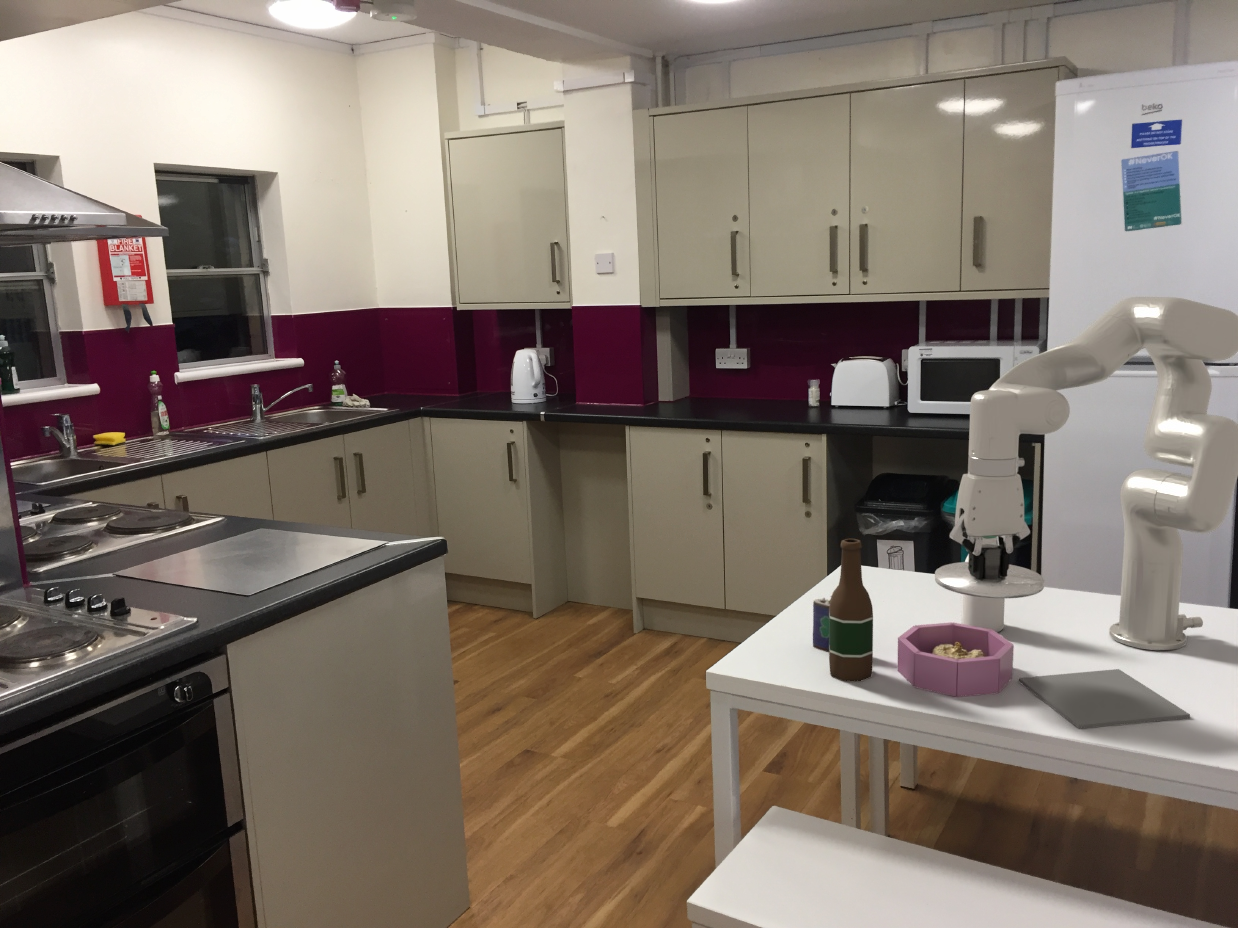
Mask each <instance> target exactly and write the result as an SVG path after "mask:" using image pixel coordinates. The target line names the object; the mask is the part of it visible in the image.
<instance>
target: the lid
mask: <svg viewBox="0 0 1238 928" xmlns="http://www.w3.org/2000/svg"><path fill="white" fill-rule="evenodd" d="M1001 550H1002V547H1000V546H998V544H997V545H993V544H982V547H981V555H982V556H983V557H984V561H983V578H982V579H977V578H976V577H974V576H972V575H971V574H970V572H969V569H968V562H965V561H962V562H953V563H949V564H944V565H942V566H940V567H939V568H936V570H935V571H934V581H935V583H936V584H937V585H938V586H939V587H941V588H943V589H945V590H947V591H949V592H953V593H956V594H961V595H962V594H964V595H970V596H976V597H984V598H1005V599H1018V598H1026V597H1031V596H1034V595H1037V594H1039V593H1041V592H1042V591H1043V590H1044V589H1045V579H1044V577H1043V575H1041V574H1039V573H1038V572H1036V571H1034V570H1032V569H1029V568H1026V567H1023V566H1019V565H1013V564H1009V569H1008V570H1007V577H1002V576H1000V573H1001Z"/></svg>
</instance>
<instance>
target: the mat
mask: <svg viewBox="0 0 1238 928" xmlns="http://www.w3.org/2000/svg"><path fill="white" fill-rule="evenodd" d="M1017 679H1018V681H1017V682H1019V683H1020V685H1022V686H1024V687H1025V688H1026V689H1027V690H1028V691H1030V692H1031V693H1033V695H1035V696H1036V697H1038V698H1039V699H1040V700H1041V701H1043V702H1044V703H1045V704H1046V705H1048V706H1049V707H1050V708H1052V709H1053V710H1054V711H1056V712H1057V713H1058V714H1060V715H1061V716H1062V717H1063V718H1065V720H1067V721H1068V722H1069V723H1071V724H1072V725H1073V726H1074V727H1076V728H1077V729H1078V730H1079V729H1091V728H1099V727H1100V728H1101V727H1110V726H1111V727H1112V726H1119V725H1121V726H1122V725H1131V724H1141V723H1153V722H1163V721H1173V720H1181V719H1182V720H1184V719H1190V717H1191V713H1189V712H1187V711H1186V710H1184V709H1182V708H1181V707H1179V706H1178V705H1176V704H1174V703H1173V702H1171V701H1169V699H1167V698H1165V697H1163V696H1162V695H1160V694H1159V693H1157V692H1155V691H1154V690H1153V689H1151V688H1150V687H1148V686H1147V685H1144V684H1143V683H1141V682H1140V681H1139V680H1137V679H1135V678H1133V677H1132V676H1130V675H1129V674H1128V673H1126V672H1124V671H1123V670H1121V669H1120V668H1115V669H1103V670H1093V671H1082V672H1070V673H1061V674H1059V673H1058V674H1048V675H1036V676H1028V677H1027V676H1026V677H1024V676H1023V677H1018V678H1017Z"/></svg>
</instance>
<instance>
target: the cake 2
mask: <svg viewBox="0 0 1238 928" xmlns="http://www.w3.org/2000/svg"><path fill="white" fill-rule="evenodd" d="M956 643H959V642H956ZM956 643H955V646H953V645H951V644H944V645H939V646H936V647H935V648H934V650H933V653H932V654H934V655H939V656H944V657H949V658H954V659H966V658H977V657H985V654H983V652H982V650H976V649H975V650H973V651H971V652H967V651H966V650H963V649H962V645H961V644H960V643H959V644H957V645H959V646H957V645H956Z"/></svg>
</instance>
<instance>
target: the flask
mask: <svg viewBox="0 0 1238 928" xmlns="http://www.w3.org/2000/svg"><path fill="white" fill-rule="evenodd" d="M831 596H832V594H831V595H830V597H831ZM812 603H813V605H812V606H813V607H812V608H813V609H812V613H813V614H812V616H813V617H812V618H813V619H812V624H813V625H812V647H813V648H815V649H817V650H819V651H824V652H828V653H829V607H830V599H827V598H826V597H823V598H817V599H814V600H813V602H812Z"/></svg>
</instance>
